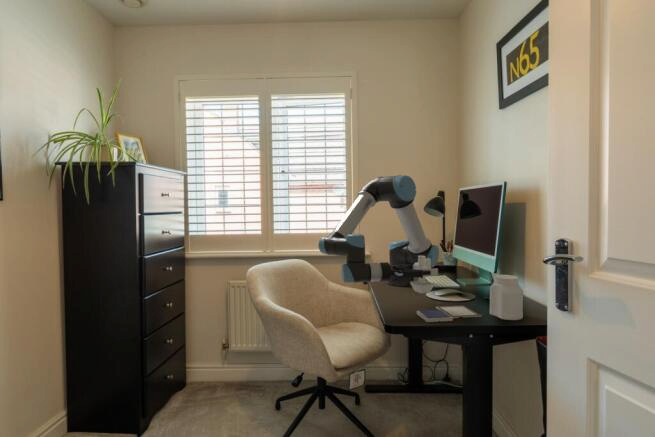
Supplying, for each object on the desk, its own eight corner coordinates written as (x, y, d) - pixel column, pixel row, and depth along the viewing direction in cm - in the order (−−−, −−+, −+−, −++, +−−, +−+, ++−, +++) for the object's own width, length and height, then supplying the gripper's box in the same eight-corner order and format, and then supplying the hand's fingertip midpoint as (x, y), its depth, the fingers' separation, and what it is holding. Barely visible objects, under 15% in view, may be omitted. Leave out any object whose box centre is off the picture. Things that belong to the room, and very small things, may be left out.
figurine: (422, 288, 153) (422, 253, 153) (436, 293, 145) (436, 256, 144) (408, 290, 151) (407, 254, 150) (422, 295, 142) (421, 258, 141)
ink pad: (416, 313, 141) (416, 310, 140) (441, 312, 142) (441, 308, 142) (426, 322, 131) (426, 318, 131) (452, 320, 132) (452, 316, 132)
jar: (484, 312, 142) (485, 274, 141) (504, 309, 144) (504, 273, 144) (507, 321, 131) (507, 280, 130) (528, 318, 133) (528, 278, 133)
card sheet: (436, 307, 149) (436, 306, 149) (463, 306, 150) (463, 305, 150) (451, 318, 135) (451, 316, 135) (481, 316, 136) (481, 315, 136)
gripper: (373, 275, 156) (422, 273, 159) (387, 287, 135) (444, 284, 137) (372, 258, 156) (422, 256, 159) (387, 267, 134) (444, 265, 137)
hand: (432, 269), depth 148 cm, fingers closed on figurine, 9 cm apart
